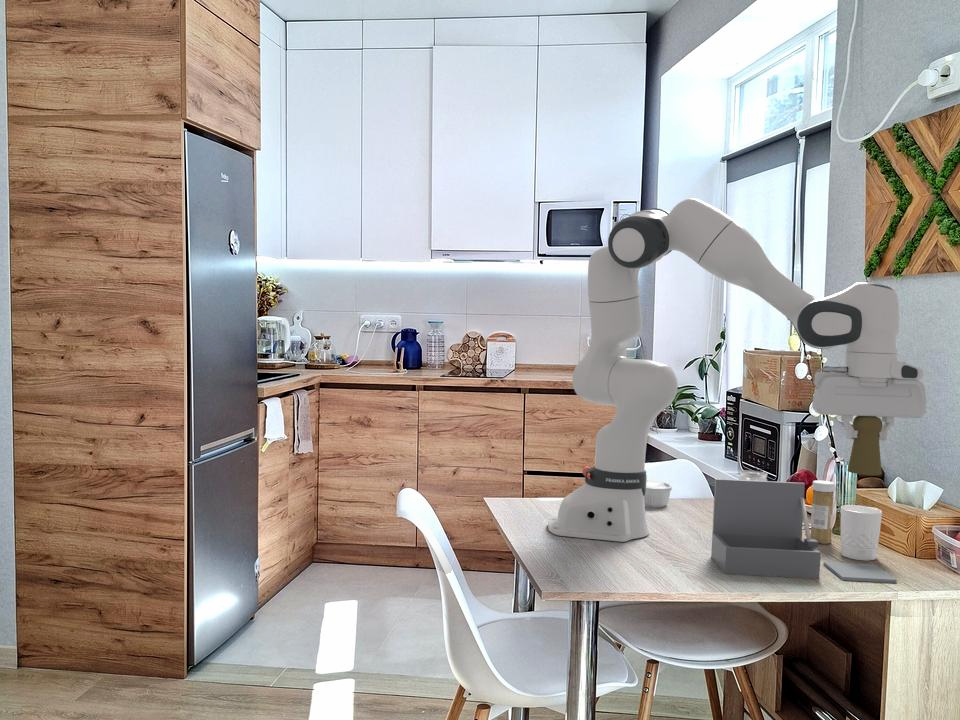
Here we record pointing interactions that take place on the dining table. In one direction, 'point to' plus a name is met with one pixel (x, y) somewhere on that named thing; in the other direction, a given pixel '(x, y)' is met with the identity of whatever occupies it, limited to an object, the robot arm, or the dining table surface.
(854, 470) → the cork
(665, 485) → the ramekin
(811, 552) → the case
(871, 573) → the mat
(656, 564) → the dining table surface
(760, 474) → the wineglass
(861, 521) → the white cup
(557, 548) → the dining table surface
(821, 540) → the sprinkles bottle
